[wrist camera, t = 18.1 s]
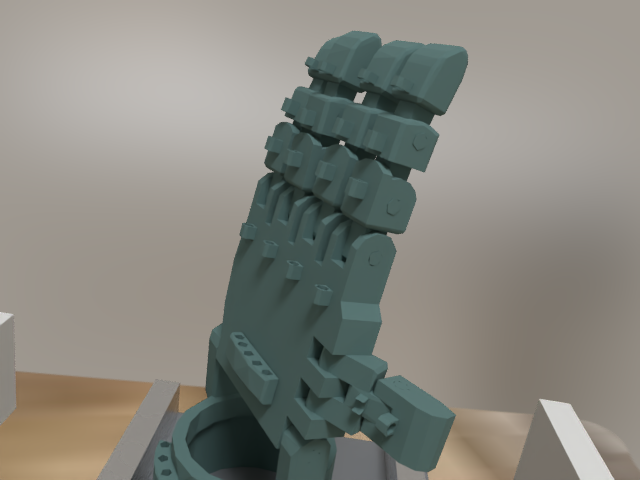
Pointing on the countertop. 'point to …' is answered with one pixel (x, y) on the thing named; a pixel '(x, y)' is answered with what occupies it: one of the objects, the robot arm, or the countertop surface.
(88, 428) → the countertop surface
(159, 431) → the rail dock
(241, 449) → the robotic hand
